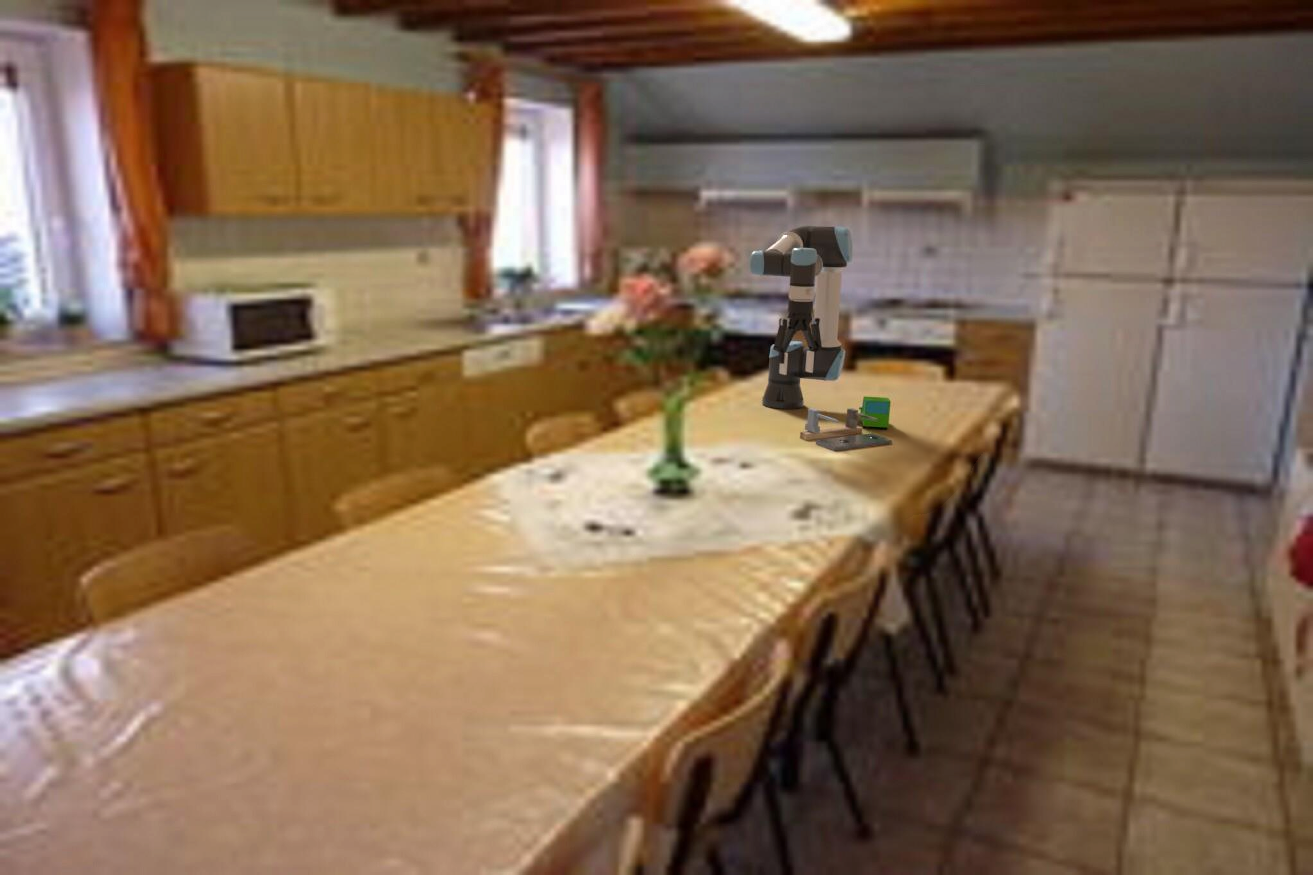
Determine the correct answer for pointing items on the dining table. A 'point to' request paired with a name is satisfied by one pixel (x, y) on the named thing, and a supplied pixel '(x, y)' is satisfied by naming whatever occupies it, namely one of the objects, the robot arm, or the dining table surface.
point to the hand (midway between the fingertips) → (796, 372)
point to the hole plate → (853, 442)
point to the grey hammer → (815, 420)
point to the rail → (841, 431)
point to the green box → (875, 411)
